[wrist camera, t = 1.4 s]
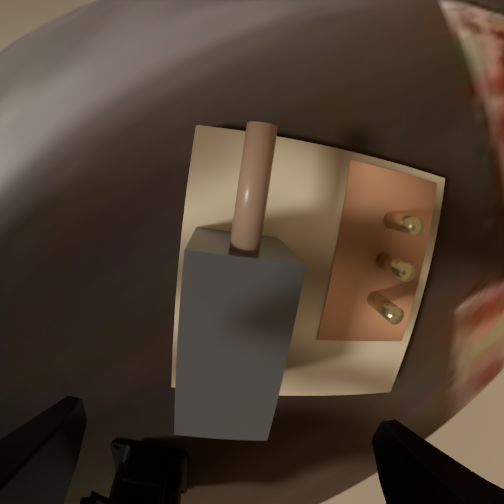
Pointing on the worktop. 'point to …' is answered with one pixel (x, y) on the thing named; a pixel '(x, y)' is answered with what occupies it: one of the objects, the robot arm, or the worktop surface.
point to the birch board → (326, 251)
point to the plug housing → (236, 312)
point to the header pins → (395, 265)
